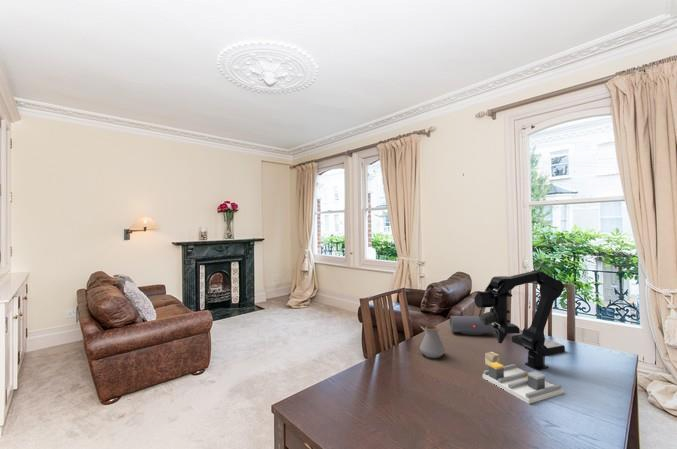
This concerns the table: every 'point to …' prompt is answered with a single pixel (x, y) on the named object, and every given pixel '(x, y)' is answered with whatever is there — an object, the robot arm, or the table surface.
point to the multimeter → (551, 345)
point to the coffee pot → (431, 342)
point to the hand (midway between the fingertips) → (500, 343)
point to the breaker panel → (522, 385)
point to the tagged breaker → (496, 370)
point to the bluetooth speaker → (469, 325)
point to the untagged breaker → (536, 380)
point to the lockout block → (491, 358)
